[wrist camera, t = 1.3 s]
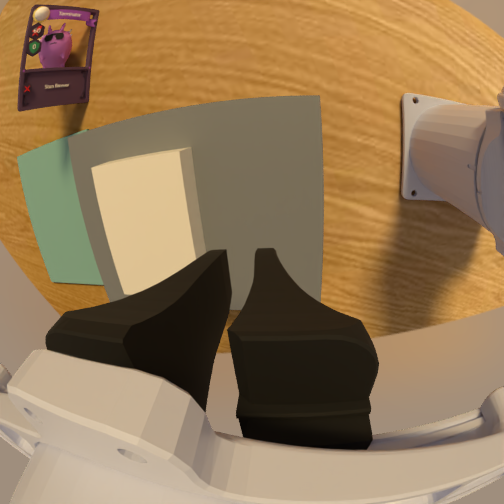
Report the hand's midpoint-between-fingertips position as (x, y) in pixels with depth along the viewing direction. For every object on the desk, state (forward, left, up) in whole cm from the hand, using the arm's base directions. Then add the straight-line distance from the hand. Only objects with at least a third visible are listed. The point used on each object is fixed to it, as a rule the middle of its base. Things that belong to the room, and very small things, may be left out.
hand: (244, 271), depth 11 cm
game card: (+15, -15, -11) cm, 24 cm away
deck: (+5, 0, -10) cm, 11 cm away
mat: (+20, 0, -10) cm, 22 cm away
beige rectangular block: (+7, 0, -6) cm, 9 cm away
